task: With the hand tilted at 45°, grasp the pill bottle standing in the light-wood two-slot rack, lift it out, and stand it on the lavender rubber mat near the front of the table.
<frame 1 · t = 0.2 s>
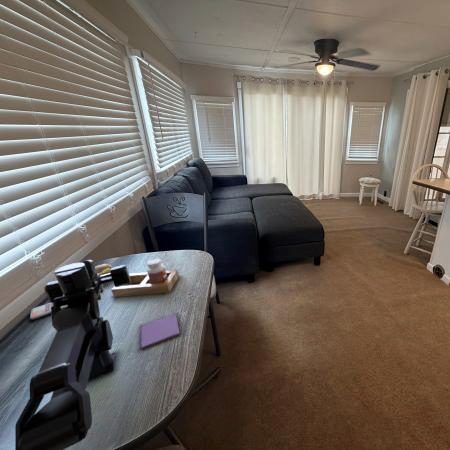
hand: (95, 271, 78), 17 cm above the table, tool horizontal, fingers open, 9 cm apart
pill bottle: (160, 285, 99), resting in bottle rack
bottle rack: (148, 286, 98), on the table
mat: (160, 330, 76), on the table
yellow banana bunch: (103, 277, 105), on the table
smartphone: (61, 305, 88), on the table
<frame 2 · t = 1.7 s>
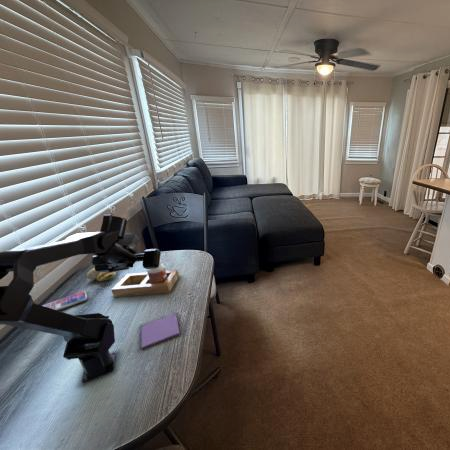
hand: (142, 266, 86), 14 cm above the table, tool tilted 45°, fingers open, 9 cm apart
nothing on the table moved.
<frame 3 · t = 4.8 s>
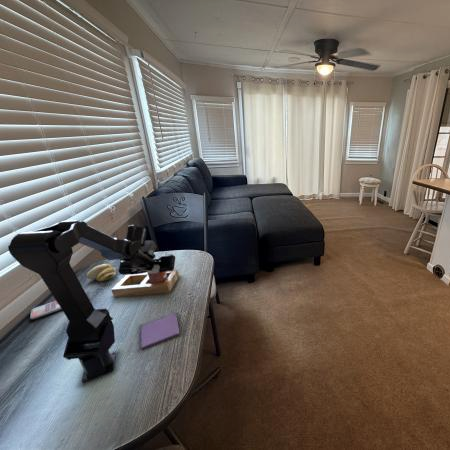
hand: (158, 269, 98), 7 cm above the table, tool tilted 45°, fingers closed on pill bottle, 6 cm apart
pill bottle: (160, 285, 99), resting in bottle rack, touching gripper
everything else where it was.
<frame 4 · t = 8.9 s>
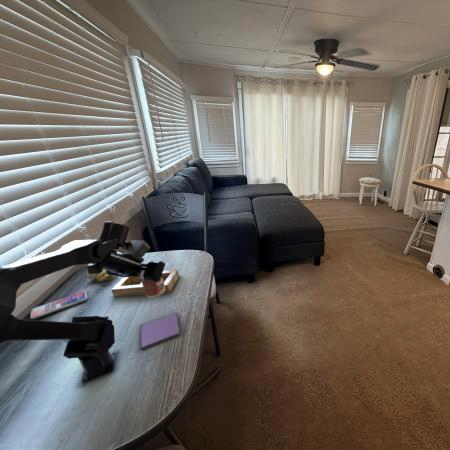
hand: (154, 274, 84), 12 cm above the table, tool tilted 45°, fingers closed on pill bottle, 6 cm apart
pill bottle: (155, 293, 85), point 6 cm above the table, touching gripper
everything else where it was.
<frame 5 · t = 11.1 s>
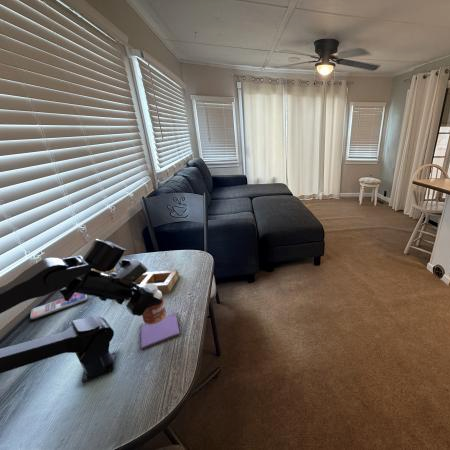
hand: (155, 298, 72), 12 cm above the table, tool tilted 45°, fingers closed on pill bottle, 6 cm apart
pill bottle: (156, 318, 74), point 5 cm above the table, touching gripper
everything else where it was.
when the fingers open (7 cm above the table, at t = 12.9 s): pill bottle stays where it is, resting on mat.
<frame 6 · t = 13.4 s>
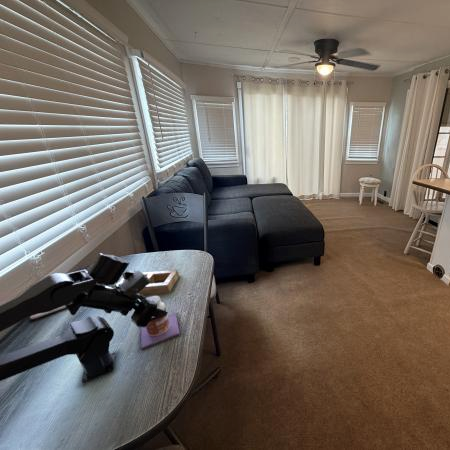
hand: (159, 308, 74), 8 cm above the table, tool tilted 45°, fingers open, 9 cm apart
pill bottle: (159, 329, 75), resting on mat
everything else where it was.
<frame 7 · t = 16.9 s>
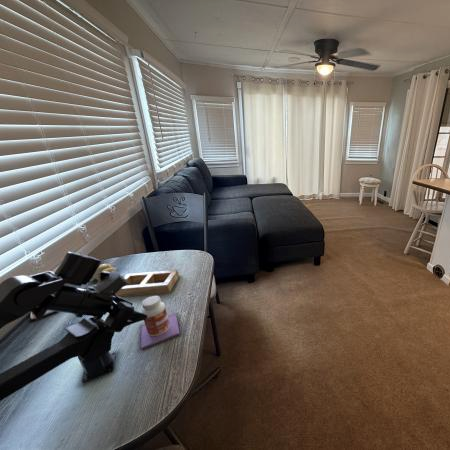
hand: (138, 310, 69), 10 cm above the table, tool tilted 45°, fingers open, 9 cm apart
nothing on the table moved.
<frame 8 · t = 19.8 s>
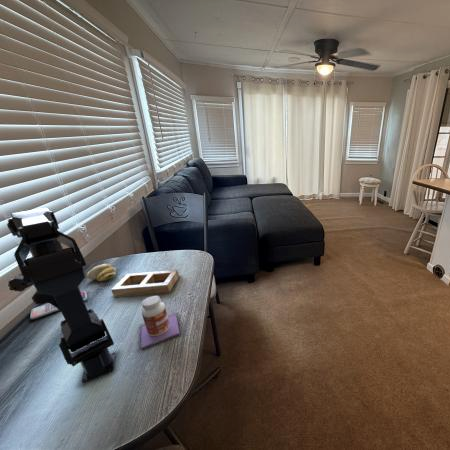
hand: (71, 303, 69), 13 cm above the table, tool pointing down, fingers open, 9 cm apart
nothing on the table moved.
at the end: pill bottle 0.1 cm off-centre on the mat, point 0.4 cm above the mat's base; pill bottle tilted 0°; the gripper is holding nothing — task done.
